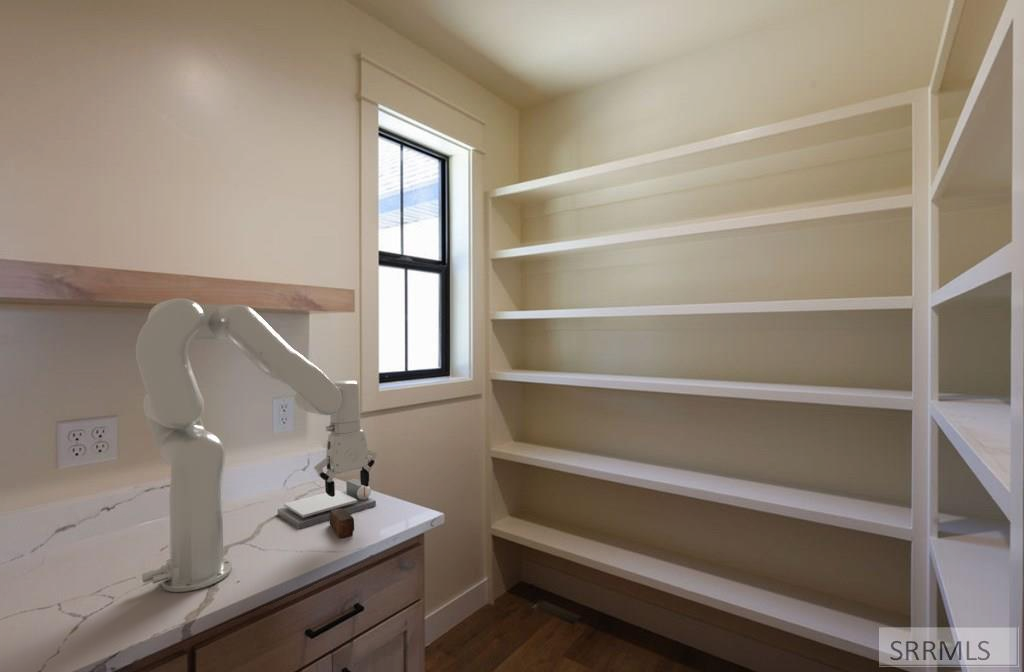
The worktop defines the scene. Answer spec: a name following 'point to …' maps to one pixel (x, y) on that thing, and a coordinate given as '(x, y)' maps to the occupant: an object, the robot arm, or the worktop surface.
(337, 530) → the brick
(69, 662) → the worktop surface
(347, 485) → the scale
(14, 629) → the worktop surface
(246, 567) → the worktop surface
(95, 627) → the worktop surface
